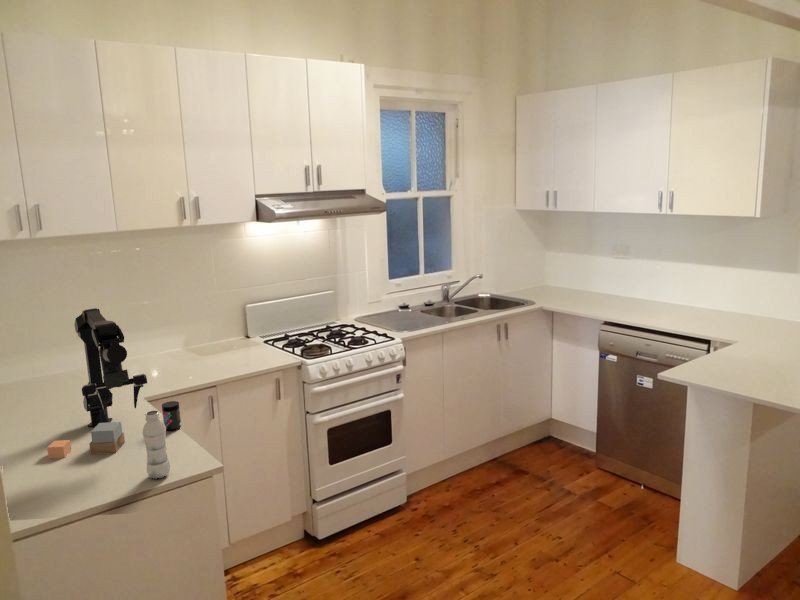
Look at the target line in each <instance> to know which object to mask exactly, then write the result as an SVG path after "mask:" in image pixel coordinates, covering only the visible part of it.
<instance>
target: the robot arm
mask: <svg viewBox="0 0 800 600" xmlns="http://www.w3.org/2000/svg"><path fill="white" fill-rule="evenodd" d="M74 330H75V331H74V332H75V333H76V334H77V336H78V338H80V340H81V341H82V342H83V345H84V346H83V347H84V353H85V360H86V369H87V375H88V382H87V384H84V385H83V386H82V387H81V392H82V393H81V394H82V397H83V402H82V403H83V408H84V410H85V411H86V412H89V415H90V421H91V422H90V423H89V424H88V425H87V427H88V428H92V427H94V428H95V427H96V426H97V425H98V424H99V423H108V422H112V421H113V418H112V417H109V412H108V407H112V406H113V403H114V402H113V395H114V394H113V393H112V391H111V390H112V389H114V388H121V387H123V386H129V385H132V386H133V406H134V409H137V405H138V396H139V393H140V390H141V388H144V385H146V384H148V379H147V378H148V377H147V375H146V374H144V373H141V374H135V375H132V377H131V378H129V372H128V369H126V368H125V369H123V365H122V363H123V362H125V360H126V359H127V357H128V350H127V349H126V348H125V347H124V346H123V345H120V343H124V342H125V335H124V333H123V330H122V328H120V326H119V325H118V324H117V323H116V321H113V320H107V319H106V318H105V317H104V316H103V314H102V313H101V311H100V309H99V308H96V307H95V308H89V309H84V310H82V311H81V314H79V316H77V317H76V318H75V320H74Z"/></svg>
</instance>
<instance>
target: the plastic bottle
mask: <svg viewBox="0 0 800 600" xmlns="http://www.w3.org/2000/svg"><path fill="white" fill-rule="evenodd" d="M160 418H161V417H160V411H159V410H149V411H147V412H146V413H145V421H146V422H145V424H144V426H143V428H142V436H143V441H144V443H145V448H146V461H147V463H146V473H147V476H148V477H149V478H150V479H152V478H153V480H157V478H159V479H162V478H164V476H165V477H166V476H168V475H169V473H170V471H171V465H170V461H169V457H168V453H167V447H166V446H167V445H166V444H167V441H166V435H167V431H166V427H165V425H164V422H163V421H161V420H160ZM167 474H168V475H167ZM154 478H155V479H154Z"/></svg>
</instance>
